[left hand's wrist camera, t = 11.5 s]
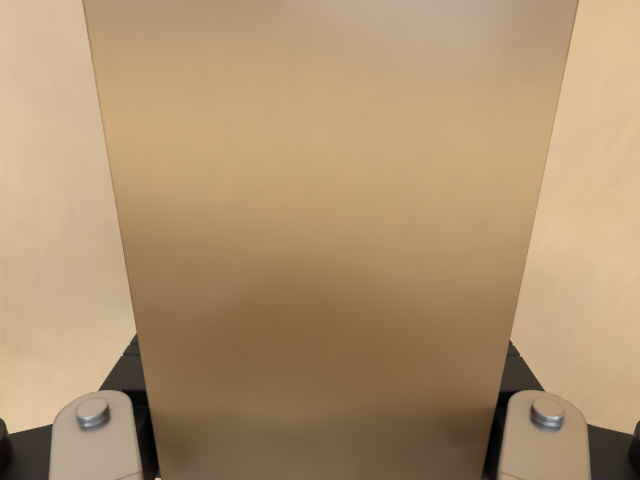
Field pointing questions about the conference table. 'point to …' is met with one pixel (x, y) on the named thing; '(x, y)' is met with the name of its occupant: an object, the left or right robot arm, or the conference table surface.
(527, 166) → the box
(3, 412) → the conference table surface
